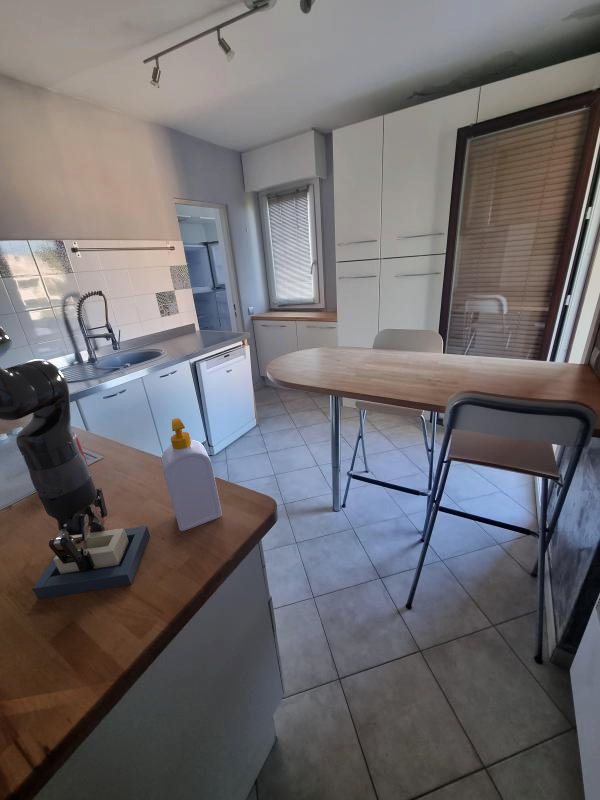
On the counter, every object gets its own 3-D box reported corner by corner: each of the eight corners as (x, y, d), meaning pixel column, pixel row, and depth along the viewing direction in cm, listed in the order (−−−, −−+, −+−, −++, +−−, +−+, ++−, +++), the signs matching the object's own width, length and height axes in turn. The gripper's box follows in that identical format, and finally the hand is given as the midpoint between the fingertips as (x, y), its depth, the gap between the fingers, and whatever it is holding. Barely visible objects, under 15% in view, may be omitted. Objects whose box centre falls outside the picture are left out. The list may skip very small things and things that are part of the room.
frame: (60, 573, 59) (53, 559, 58) (75, 549, 64) (69, 535, 63) (118, 565, 60) (113, 550, 59) (129, 541, 65) (124, 528, 64)
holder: (37, 599, 57) (31, 588, 56) (71, 546, 67) (67, 536, 66) (131, 584, 58) (127, 574, 57) (150, 535, 69) (147, 525, 68)
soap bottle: (215, 498, 78) (196, 410, 69) (222, 516, 72) (203, 423, 63) (175, 512, 75) (150, 421, 66) (180, 532, 69) (153, 436, 60)
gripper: (62, 460, 62) (91, 529, 68) (10, 514, 48) (52, 594, 55) (105, 454, 62) (129, 524, 69) (65, 507, 49) (100, 586, 56)
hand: (95, 555), depth 62 cm, fingers closed on frame, 5 cm apart
